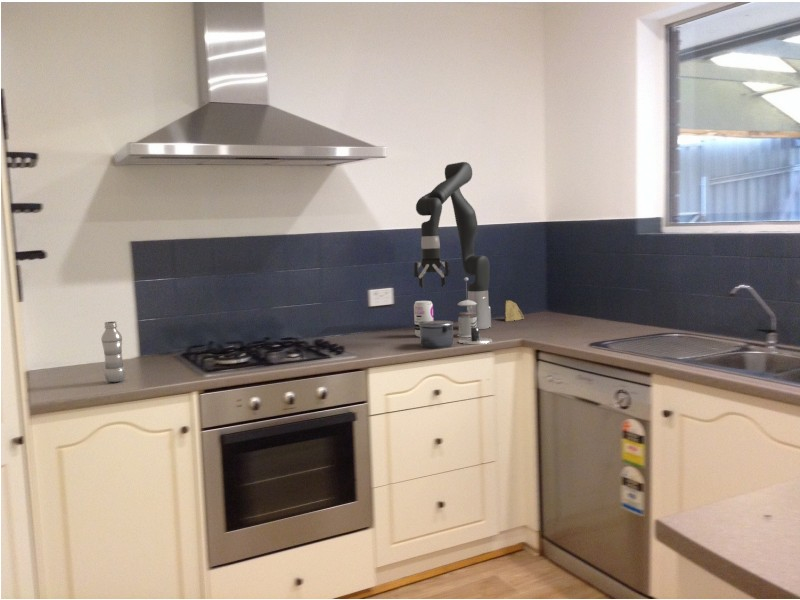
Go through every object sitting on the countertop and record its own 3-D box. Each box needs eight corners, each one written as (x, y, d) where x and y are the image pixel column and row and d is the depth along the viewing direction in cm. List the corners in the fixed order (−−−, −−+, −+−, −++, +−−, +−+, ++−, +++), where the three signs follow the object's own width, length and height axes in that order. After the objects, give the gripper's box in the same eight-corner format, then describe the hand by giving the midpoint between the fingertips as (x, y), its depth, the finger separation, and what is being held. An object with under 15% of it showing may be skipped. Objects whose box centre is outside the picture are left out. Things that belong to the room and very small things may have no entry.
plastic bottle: (107, 385, 219) (102, 324, 217) (103, 381, 225) (97, 322, 223) (128, 381, 223) (123, 322, 221) (123, 378, 229) (118, 320, 227)
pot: (438, 340, 278) (437, 319, 277) (464, 346, 263) (463, 323, 262) (410, 344, 271) (409, 322, 270) (435, 350, 256) (434, 327, 255)
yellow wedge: (523, 313, 335) (503, 311, 336) (526, 301, 329) (505, 298, 330) (523, 328, 327) (503, 326, 328) (526, 316, 321) (505, 314, 322)
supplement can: (434, 334, 296) (433, 300, 295) (433, 337, 288) (432, 302, 286) (415, 334, 297) (414, 300, 295) (414, 337, 289) (413, 302, 287)
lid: (478, 338, 281) (477, 324, 280) (499, 342, 269) (498, 327, 269) (451, 342, 274) (451, 328, 273) (472, 346, 262) (471, 331, 262)
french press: (454, 337, 285) (452, 278, 282) (460, 333, 296) (458, 276, 293) (477, 337, 282) (475, 278, 279) (482, 333, 293) (480, 275, 290)
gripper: (449, 246, 276) (451, 285, 278) (415, 247, 280) (417, 286, 281) (446, 247, 269) (448, 287, 271) (411, 248, 272) (413, 288, 274)
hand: (432, 286), depth 276 cm, fingers open, 8 cm apart
